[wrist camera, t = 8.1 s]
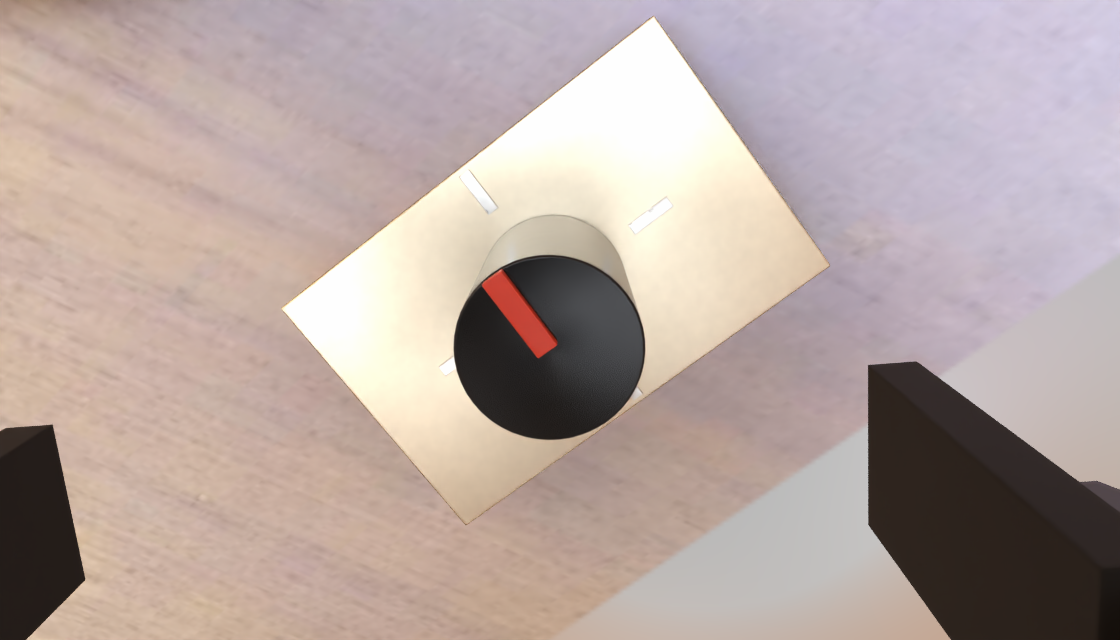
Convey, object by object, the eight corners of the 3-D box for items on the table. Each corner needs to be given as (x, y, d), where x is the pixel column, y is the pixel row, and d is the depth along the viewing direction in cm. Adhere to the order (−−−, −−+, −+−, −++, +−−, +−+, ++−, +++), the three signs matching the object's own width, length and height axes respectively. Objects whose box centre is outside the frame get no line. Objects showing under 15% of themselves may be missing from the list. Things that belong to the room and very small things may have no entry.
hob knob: (655, 303, 28) (685, 374, 21) (538, 385, 29) (529, 481, 22) (569, 184, 28) (570, 217, 20) (450, 272, 28) (411, 333, 21)
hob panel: (474, 487, 33) (465, 528, 30) (306, 288, 31) (278, 310, 28) (806, 249, 31) (832, 266, 28) (645, 22, 29) (654, 14, 26)
